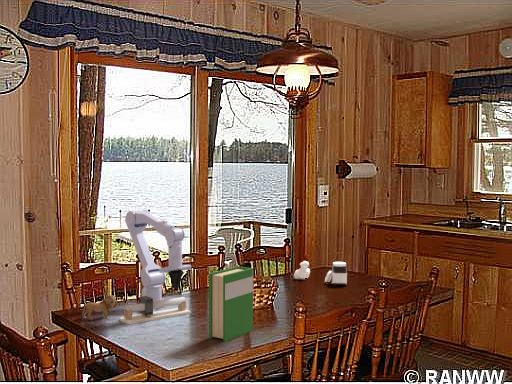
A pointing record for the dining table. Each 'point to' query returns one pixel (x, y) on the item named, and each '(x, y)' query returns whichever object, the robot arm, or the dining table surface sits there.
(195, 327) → the dining table surface
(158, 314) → the pipe stand
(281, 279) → the dining table surface
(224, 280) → the hardback book
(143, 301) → the collar
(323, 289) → the dining table surface
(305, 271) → the duck figurine
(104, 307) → the lion figurine
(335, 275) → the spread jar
